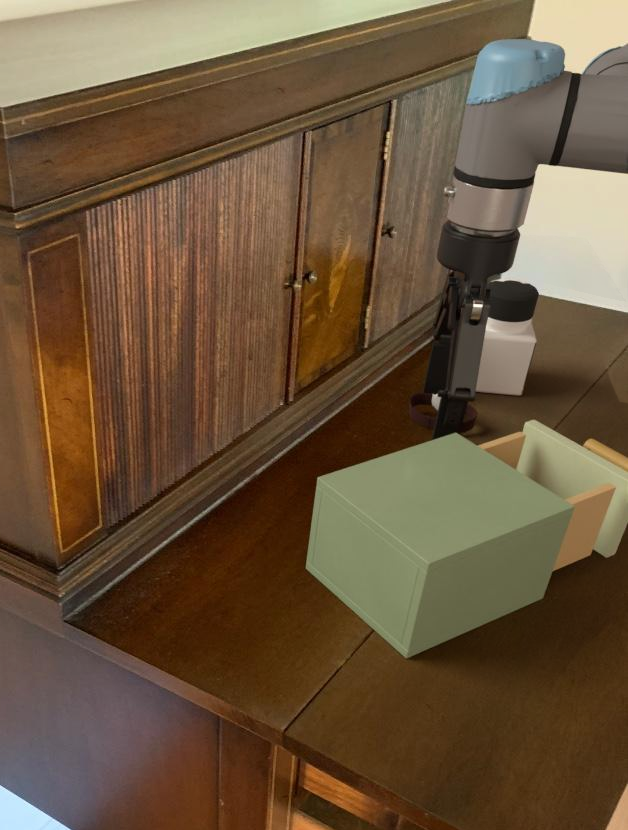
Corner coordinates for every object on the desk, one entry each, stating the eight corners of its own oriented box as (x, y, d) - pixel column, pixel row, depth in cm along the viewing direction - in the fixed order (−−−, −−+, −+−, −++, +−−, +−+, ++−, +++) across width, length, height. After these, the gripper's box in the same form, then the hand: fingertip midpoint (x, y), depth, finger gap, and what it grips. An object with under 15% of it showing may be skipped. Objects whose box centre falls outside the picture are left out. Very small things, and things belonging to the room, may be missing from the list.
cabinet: (435, 520, 89) (456, 432, 83) (543, 598, 80) (575, 506, 74) (305, 568, 83) (317, 477, 77) (406, 659, 74) (429, 563, 68)
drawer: (556, 473, 95) (579, 404, 90) (659, 534, 86) (690, 462, 81) (402, 529, 86) (417, 457, 81) (500, 604, 78) (523, 528, 73)
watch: (479, 424, 104) (486, 395, 102) (465, 441, 101) (472, 412, 99) (414, 406, 107) (420, 377, 105) (399, 422, 104) (405, 393, 102)
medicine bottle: (522, 396, 110) (549, 298, 102) (461, 391, 110) (483, 293, 103) (516, 370, 115) (541, 275, 107) (457, 365, 116) (479, 270, 108)
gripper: (433, 187, 100) (399, 372, 114) (455, 264, 81) (411, 474, 95) (504, 191, 99) (461, 377, 113) (542, 270, 81) (484, 480, 95)
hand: (438, 421), depth 104 cm, fingers open, 12 cm apart
